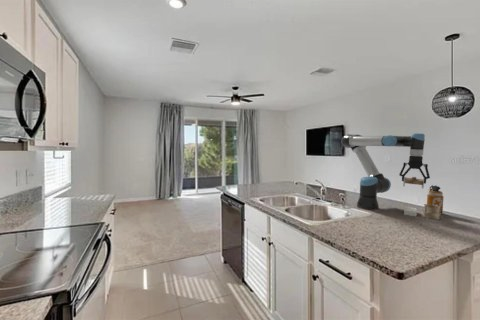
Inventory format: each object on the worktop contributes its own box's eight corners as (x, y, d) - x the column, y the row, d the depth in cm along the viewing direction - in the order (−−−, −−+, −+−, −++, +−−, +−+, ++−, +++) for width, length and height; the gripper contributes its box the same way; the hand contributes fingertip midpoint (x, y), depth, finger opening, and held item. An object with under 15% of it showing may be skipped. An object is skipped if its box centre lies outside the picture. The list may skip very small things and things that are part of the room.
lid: (405, 183, 165) (405, 177, 165) (404, 180, 176) (405, 175, 176) (423, 185, 160) (423, 179, 159) (421, 182, 171) (422, 176, 170)
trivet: (403, 214, 166) (404, 210, 166) (404, 210, 177) (404, 206, 177) (416, 216, 162) (416, 212, 162) (415, 212, 173) (416, 208, 173)
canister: (429, 214, 168) (431, 186, 167) (422, 210, 179) (424, 183, 178) (445, 215, 166) (446, 187, 164) (437, 211, 176) (438, 184, 175)
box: (424, 217, 160) (425, 207, 160) (423, 213, 169) (424, 204, 169) (440, 219, 156) (440, 209, 155) (438, 215, 165) (439, 205, 164)
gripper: (396, 154, 169) (393, 185, 171) (437, 157, 157) (434, 190, 159) (396, 154, 176) (394, 184, 178) (436, 156, 163) (432, 188, 165)
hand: (413, 186), depth 168 cm, fingers closed on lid, 10 cm apart
